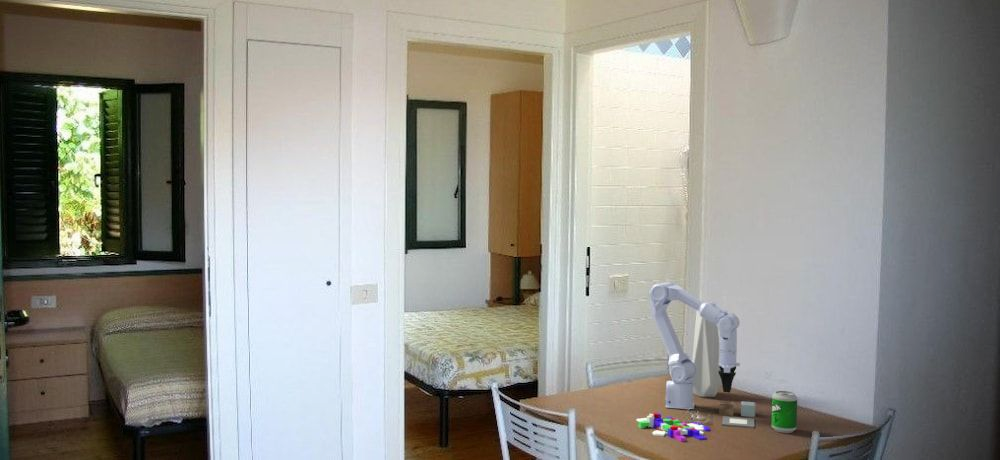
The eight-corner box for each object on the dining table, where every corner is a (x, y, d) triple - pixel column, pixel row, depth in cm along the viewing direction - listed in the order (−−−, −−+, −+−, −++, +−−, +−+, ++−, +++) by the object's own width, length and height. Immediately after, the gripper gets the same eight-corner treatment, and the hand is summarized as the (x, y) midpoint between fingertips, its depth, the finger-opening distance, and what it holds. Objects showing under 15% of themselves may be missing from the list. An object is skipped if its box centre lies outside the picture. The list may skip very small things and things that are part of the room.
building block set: (726, 439, 262) (726, 424, 262) (667, 445, 256) (667, 430, 255) (683, 418, 286) (683, 404, 286) (628, 423, 279) (628, 409, 279)
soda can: (796, 428, 273) (797, 391, 272) (796, 434, 265) (797, 396, 265) (771, 426, 275) (772, 389, 274) (771, 432, 268) (772, 394, 267)
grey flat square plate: (722, 425, 276) (722, 423, 276) (722, 417, 285) (722, 416, 285) (754, 427, 273) (754, 426, 273) (754, 419, 282) (754, 418, 282)
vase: (726, 394, 317) (728, 306, 316) (716, 400, 308) (718, 309, 306) (695, 389, 324) (696, 303, 322) (684, 395, 314) (686, 307, 313)
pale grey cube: (740, 416, 287) (741, 404, 287) (740, 412, 291) (741, 401, 291) (754, 417, 286) (755, 405, 286) (754, 414, 290) (754, 402, 290)
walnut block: (719, 415, 288) (719, 403, 288) (719, 412, 292) (720, 400, 292) (733, 416, 287) (733, 404, 287) (733, 413, 291) (733, 401, 291)
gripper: (739, 354, 280) (739, 395, 281) (740, 346, 294) (739, 385, 295) (717, 353, 282) (717, 393, 283) (719, 345, 296) (718, 384, 297)
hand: (727, 389), depth 289 cm, fingers open, 7 cm apart
